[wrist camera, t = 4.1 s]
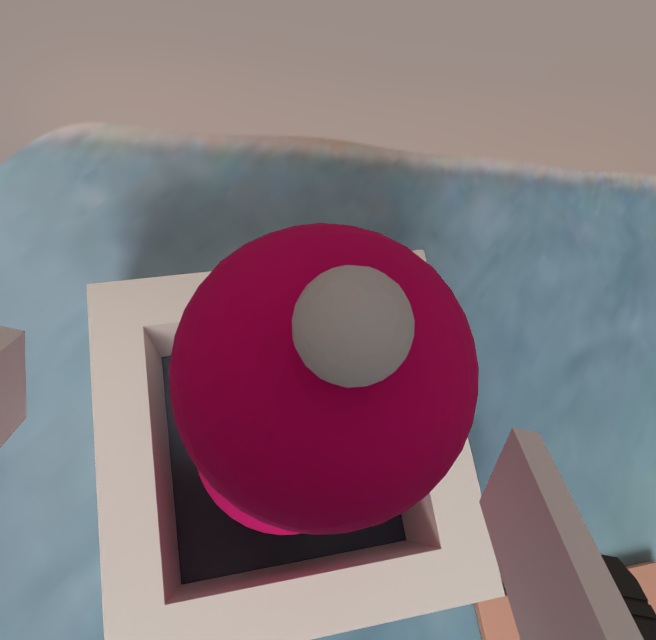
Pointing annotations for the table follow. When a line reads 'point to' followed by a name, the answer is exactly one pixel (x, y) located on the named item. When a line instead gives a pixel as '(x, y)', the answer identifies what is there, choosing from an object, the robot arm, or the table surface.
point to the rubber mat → (498, 615)
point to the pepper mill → (322, 380)
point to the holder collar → (263, 584)
